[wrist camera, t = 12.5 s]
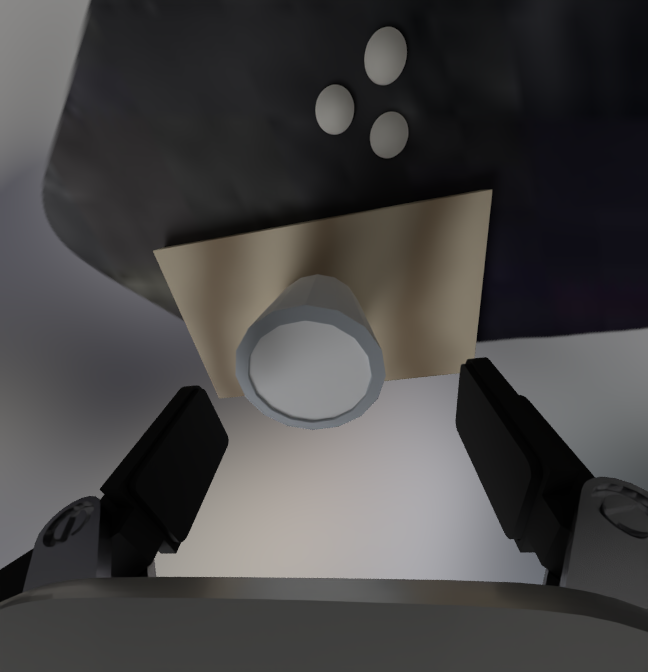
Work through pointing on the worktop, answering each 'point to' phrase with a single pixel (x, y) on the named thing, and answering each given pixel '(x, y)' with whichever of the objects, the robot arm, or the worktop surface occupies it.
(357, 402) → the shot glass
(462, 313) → the birch board
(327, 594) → the robot arm
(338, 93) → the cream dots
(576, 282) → the worktop surface
